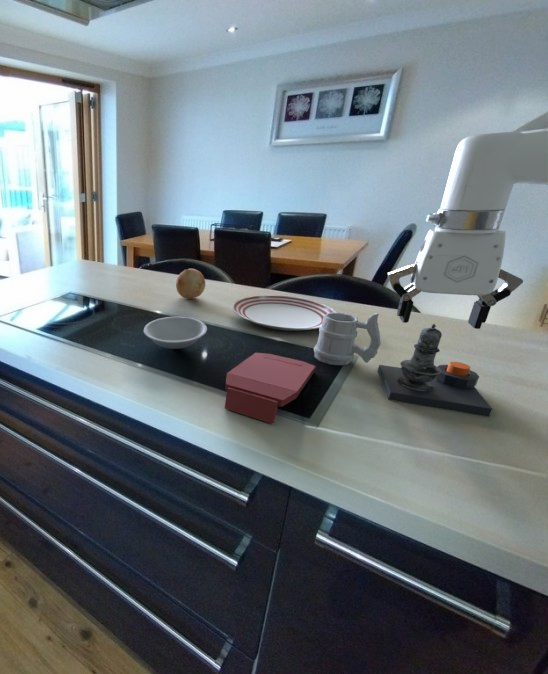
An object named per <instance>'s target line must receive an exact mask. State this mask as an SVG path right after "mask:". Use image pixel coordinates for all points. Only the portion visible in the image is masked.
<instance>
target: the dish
mask: <svg viewBox="0 0 548 674" xmlns="http://www.w3.org/2000/svg"><path fill="white" fill-rule="evenodd" d="M207 332H208V327H207V324H206V323H205V322H203V321H201V320H199V319H196V318H193V317H190V316H189V317H187V316H165V317H161V318H157V319H154V320H152V321H150V322H148V323H147V324H146V325H145V326H144V328H143V333H144V335H145V336H146V337H147V338H149V339H150V340H151V341H152V342H153V343H154V344H155V345H157V346H158V347H161V348H163V349H167V350H168V349H169V350H180V349H184V348H188V347H190V346H192V345H194V344H195V343H196V342H198V341H199V340H200V339H201V338H203V337H204V336H205V335H206V334H207Z"/></svg>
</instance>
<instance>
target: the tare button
mask: <svg viewBox="0 0 548 674" xmlns="http://www.w3.org/2000/svg"><path fill="white" fill-rule="evenodd" d="M447 365H448V368H447V370H446V372H448V373H450V374H454V375H457V376H468V373H469V370H471V366H470V365H469V364H467V363H464V362H460V361H450V362H448V364H447Z"/></svg>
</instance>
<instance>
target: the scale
mask: <svg viewBox="0 0 548 674" xmlns="http://www.w3.org/2000/svg"><path fill="white" fill-rule="evenodd" d="M448 365H449V364H439V365H438V366H437V367H438V368H439V369H440V370H441V373H440V374H438V375H437V377H436V378H435V379H434V380H433V381H430V382H429V383H430V384H431V385H432V386H433V390H431V391H417V390H413V389H409V388H407V387H404V386H402V385H401V384H399V383H398V381H397V380H398V378H400V377H405V376H404V375H403V373H402V369H401V367H398V366H392V365H391V366H390V365H385V364H378V367H377V371H376V372H377V373H376V374H377V375H378V377H379V381H380V383H381V385H382V388H383V391H384V393H385V395H386V398H387V400H388V401H394V402H400V403H404V404H411V405H417V406H422V407H428V408H435V409H440V410H446V411H452V412H458V413H463V414H470V415H476V416H481V417H487V418H489V417H490V416H491V413H492V411H493V407H492V406H491V405H490V404H489V403H488V402H487V400H486V399H485V397H484V396H482V394H481V393H480V392H479V391H478V390H477V388H476V386H477V384H478V381H479V379H480V376H479V374H478V373H477V372H475V371H474V370H471V369H470V370H469V373H468V376H457V375H454V374H450V373H448V372H446V370H447V368H448Z"/></svg>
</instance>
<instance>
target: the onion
mask: <svg viewBox="0 0 548 674" xmlns="http://www.w3.org/2000/svg"><path fill="white" fill-rule="evenodd" d="M175 289H176V291H177V293H178V295H180V296H181V297H182V298H184V299H189V300H191V299H194V298H198V297H200V296H201V295H202V294H203V293H204V291H205V289H206V280H205V277H204V274H202V272H201V271H200V270H198V269H195V268H188V269H184V270H183V271H181V272H180V273H179V274H178V276H177V277H176V280H175Z"/></svg>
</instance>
